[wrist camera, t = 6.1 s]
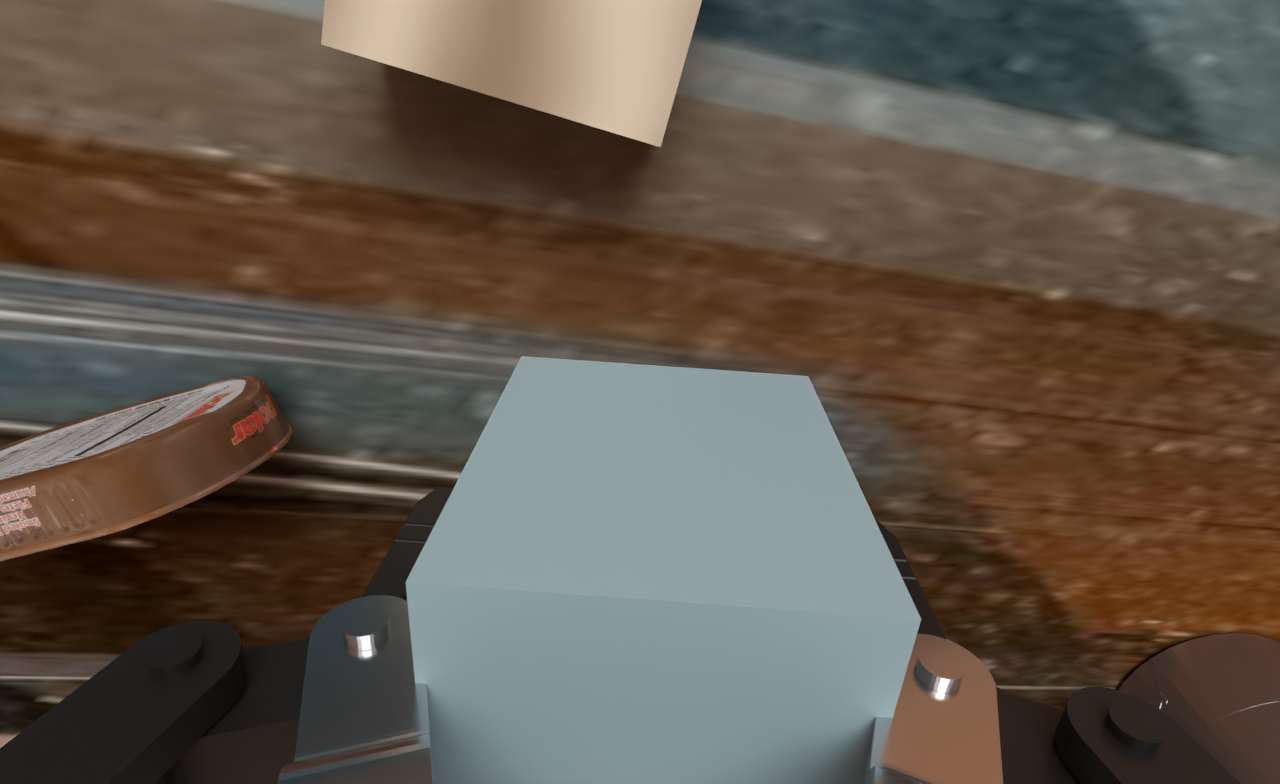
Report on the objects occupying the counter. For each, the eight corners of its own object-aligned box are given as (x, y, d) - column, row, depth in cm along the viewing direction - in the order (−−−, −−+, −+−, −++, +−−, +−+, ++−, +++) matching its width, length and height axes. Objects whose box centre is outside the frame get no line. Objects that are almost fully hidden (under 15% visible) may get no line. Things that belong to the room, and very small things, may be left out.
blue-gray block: (807, 376, 12) (921, 618, 7) (769, 602, 14) (831, 928, 9) (521, 356, 12) (405, 581, 7) (523, 584, 14) (435, 898, 9)
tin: (36, 488, 32) (-159, 619, 25) (-9, 429, 31) (-228, 548, 23) (331, 409, 30) (219, 525, 23) (297, 342, 29) (165, 441, 21)
